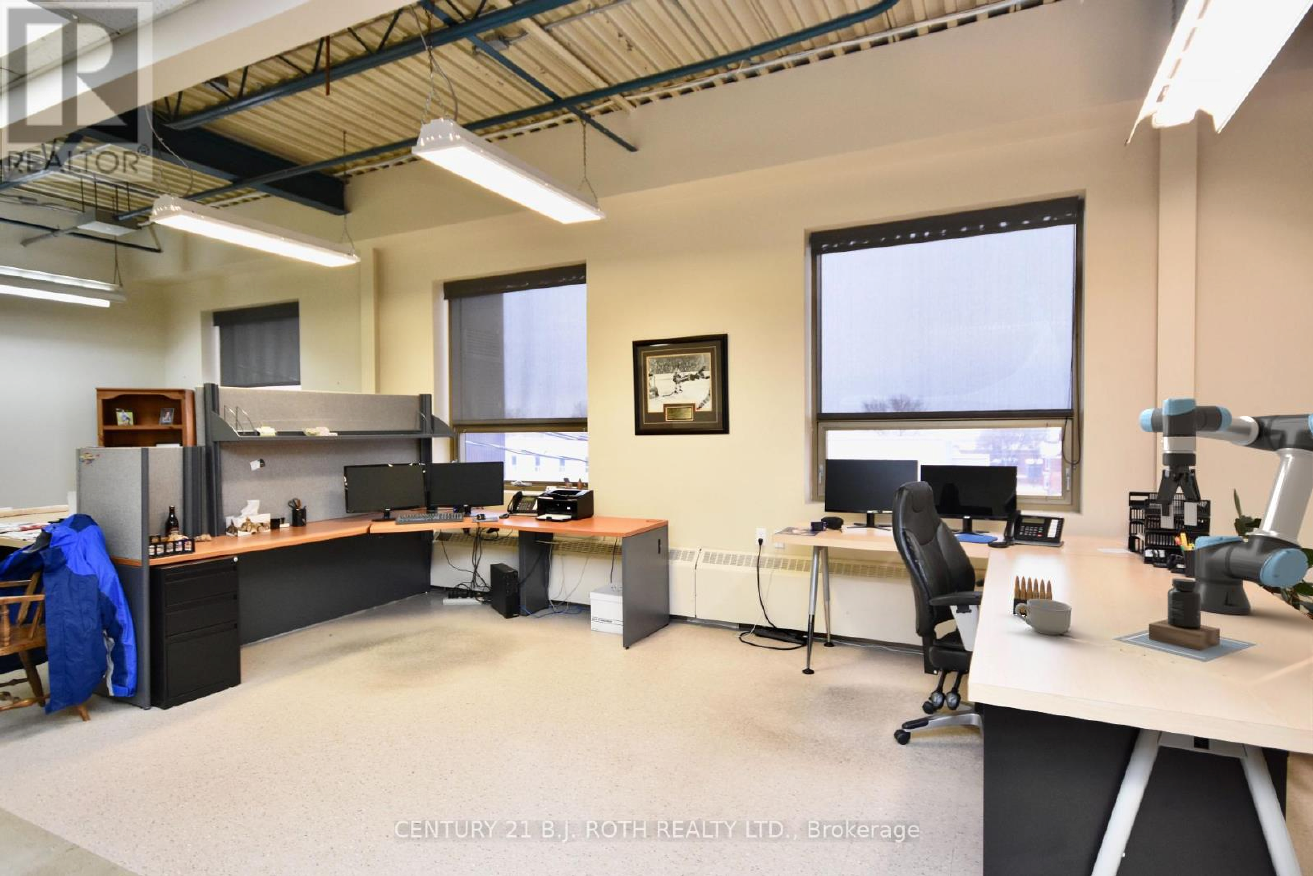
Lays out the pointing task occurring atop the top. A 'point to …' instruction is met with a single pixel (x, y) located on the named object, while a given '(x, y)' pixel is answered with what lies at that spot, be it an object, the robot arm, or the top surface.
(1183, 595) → the supplement bottle
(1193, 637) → the walnut plinth
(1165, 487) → the robot arm
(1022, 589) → the ammunition clip
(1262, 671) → the top surface
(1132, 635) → the board
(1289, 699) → the top surface
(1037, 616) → the teacup
